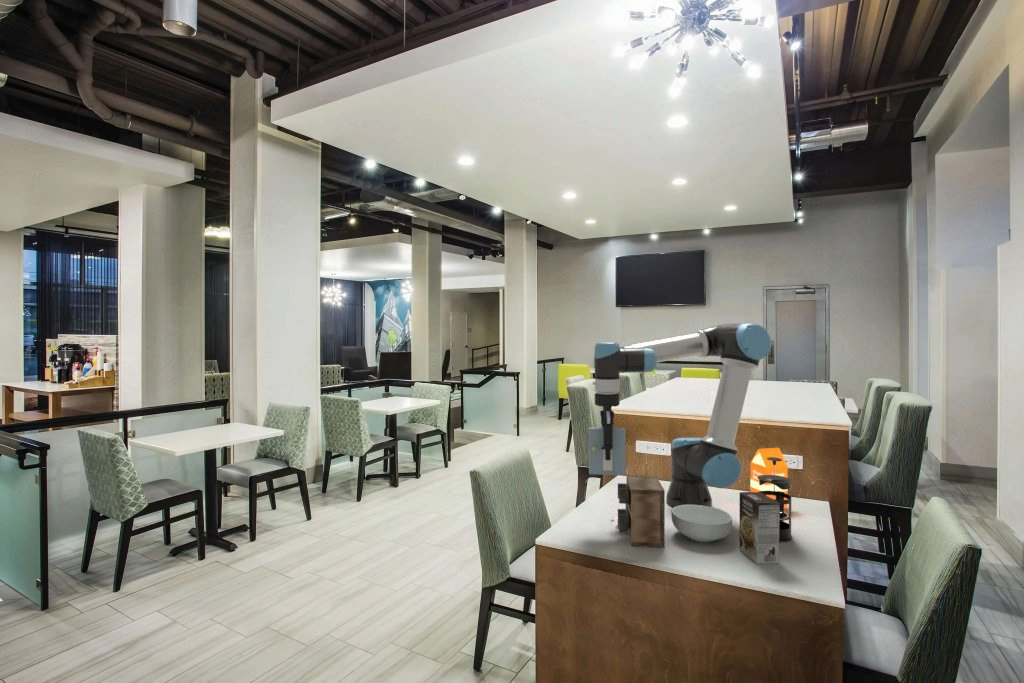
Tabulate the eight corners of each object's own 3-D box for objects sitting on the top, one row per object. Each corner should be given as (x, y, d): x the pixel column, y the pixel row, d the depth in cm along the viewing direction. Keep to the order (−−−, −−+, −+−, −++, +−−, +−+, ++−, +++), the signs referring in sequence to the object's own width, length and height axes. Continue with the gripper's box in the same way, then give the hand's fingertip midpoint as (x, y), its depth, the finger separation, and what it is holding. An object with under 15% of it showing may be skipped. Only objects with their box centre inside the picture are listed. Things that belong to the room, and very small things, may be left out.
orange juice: (787, 508, 175) (788, 450, 175) (765, 510, 173) (766, 451, 173) (771, 501, 183) (771, 445, 183) (749, 503, 181) (750, 446, 181)
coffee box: (738, 549, 142) (738, 491, 142) (760, 549, 142) (760, 491, 142) (756, 564, 133) (756, 502, 133) (780, 563, 133) (780, 501, 133)
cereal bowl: (733, 552, 140) (733, 527, 140) (669, 544, 146) (669, 519, 146) (730, 530, 156) (730, 507, 156) (672, 523, 162) (672, 501, 162)
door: (625, 472, 159) (624, 427, 159) (626, 476, 155) (626, 430, 155) (589, 472, 160) (588, 427, 160) (589, 475, 156) (589, 429, 156)
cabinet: (655, 526, 160) (655, 474, 159) (664, 547, 143) (664, 490, 143) (617, 524, 161) (617, 473, 161) (622, 545, 145) (622, 489, 145)
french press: (785, 545, 145) (786, 464, 144) (750, 536, 151) (751, 458, 151) (797, 533, 153) (798, 456, 153) (764, 525, 160) (764, 451, 159)
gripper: (593, 389, 166) (593, 462, 166) (595, 395, 150) (596, 475, 151) (617, 389, 165) (617, 462, 165) (621, 395, 150) (622, 476, 150)
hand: (607, 468), depth 158 cm, fingers closed on door, 2 cm apart
